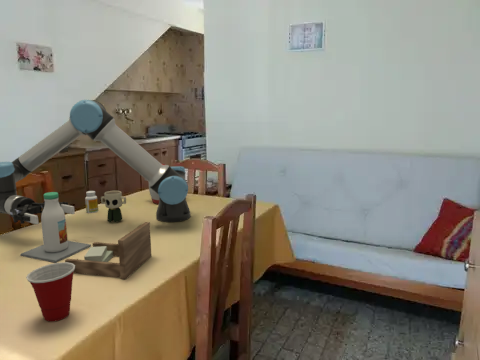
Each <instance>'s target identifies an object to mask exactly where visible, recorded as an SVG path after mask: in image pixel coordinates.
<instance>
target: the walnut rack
mask: <svg viewBox="0 0 480 360" xmlns="http://www.w3.org/2000/svg"><path fill="white" fill-rule="evenodd" d="M101 246H107V251H113V257H118V261H119V262H110V261H108V262H101V261H89V260H85V259H76V258H74V259H73V258H65V259H64V262H68V263H73V264H74V265H75V269H74V272H73V274H78V275H79V274H80V275H87V276H89V275H90V276H100V277H112V278H120V279H121V280H127V279H128V278H129V277H130V276H132V274H133V273H135V272H136V271H137V270H139V268H140V267H141V266H143V265H144V264H145V263H146V262H147V261H148V260H150V258H152V241H151V223H150V222H149V221H144V222H143V223H141V224H140V225H138V226H137V227H135V228H134V229H133V230H131V231H129V232H128V233H127V234H125V235H124V236H122V237H121V238H119V239H118V240H117V243H111V242H98V241H94V242H93V243H92V247H101Z"/></svg>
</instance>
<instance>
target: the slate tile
mask: <svg viewBox="0 0 480 360" xmlns="http://www.w3.org/2000/svg"><path fill="white" fill-rule="evenodd" d="M90 247H92V244H90V243H86V242H78V241H74V240H73V241H71V240H68V247H67V248H66V249H65V250H63V251H59V252H46V251H45V250H44V244H42V245H39V246H36V247H35V248H31V249H29V250H26V251H24V252H21V253H20V254H19V257H22V258H23V257H24V258H29V259H34V260H37V261H38V260H39V261H45V262H50V263H53V264H54V263H60V262H61V261H63V260H66V259H68V258H69V257H71V256H73V255H76V254H79V253H80V252H82V251H84V250H87V249H90Z"/></svg>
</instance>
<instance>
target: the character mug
mask: <svg viewBox="0 0 480 360" xmlns="http://www.w3.org/2000/svg"><path fill="white" fill-rule="evenodd" d="M103 194H104V196H102V195H101V196H100V203H101V205H104V206H105V207H106V208H107V209H108V210H107V217H106V218H107V220H106V221H107V223H108V222H109V223H119V222H121V221H123V214H122V210H121V207H122V206H123V205H126V204H127V197H126V196H123V195H122V194H123V193H122V191H120V190H110V191H109V190H108V191H105V192H104V193H103Z"/></svg>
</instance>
